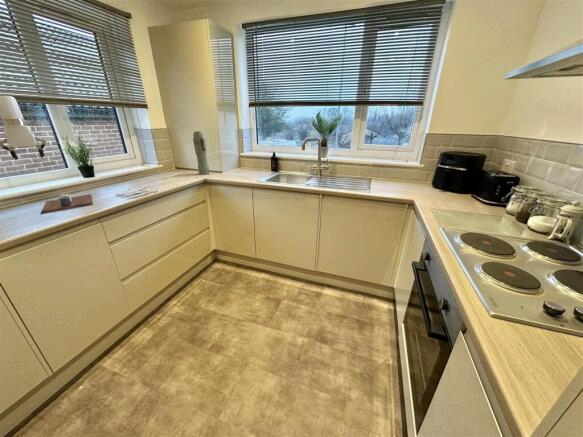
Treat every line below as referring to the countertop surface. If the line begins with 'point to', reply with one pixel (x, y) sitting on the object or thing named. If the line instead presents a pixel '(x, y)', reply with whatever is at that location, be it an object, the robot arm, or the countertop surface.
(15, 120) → the robot arm
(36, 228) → the countertop surface
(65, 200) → the black stone
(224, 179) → the countertop surface
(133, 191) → the knife set
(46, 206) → the board
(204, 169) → the grey statue
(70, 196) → the white stone
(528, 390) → the countertop surface
